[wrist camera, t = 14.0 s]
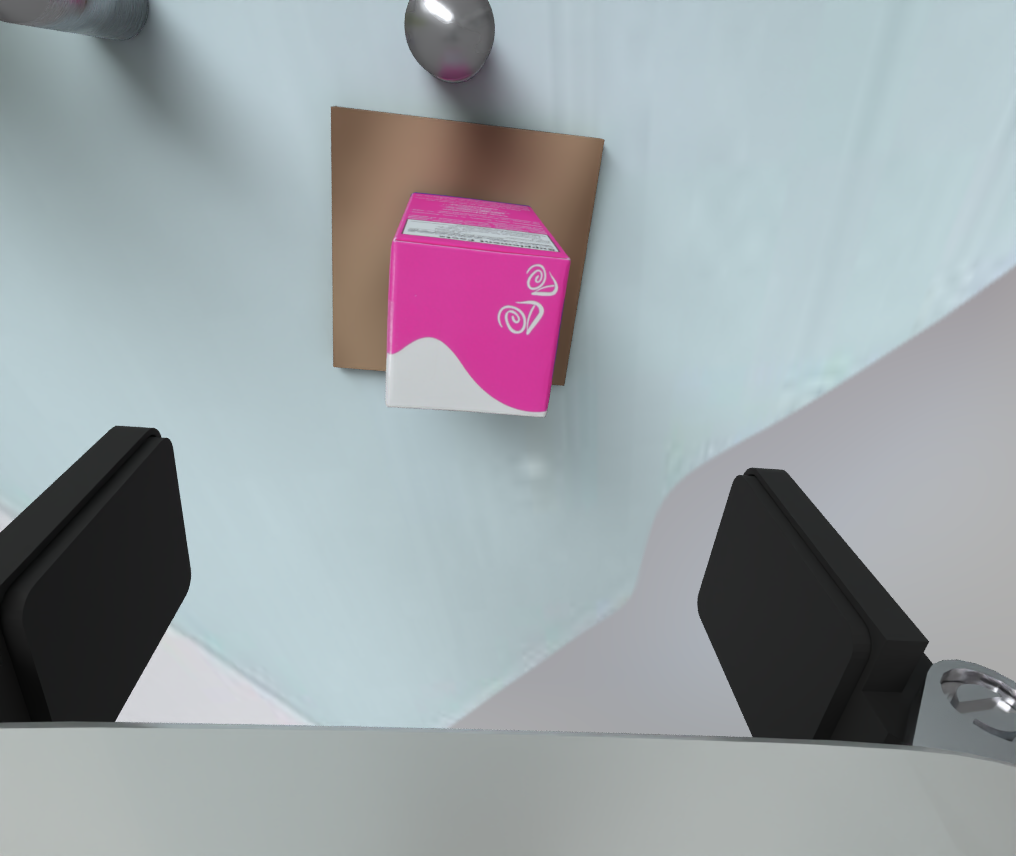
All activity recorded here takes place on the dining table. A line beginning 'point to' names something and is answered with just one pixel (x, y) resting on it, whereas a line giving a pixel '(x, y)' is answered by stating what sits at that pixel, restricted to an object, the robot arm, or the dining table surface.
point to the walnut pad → (451, 172)
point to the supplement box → (473, 307)
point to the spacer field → (428, 27)
